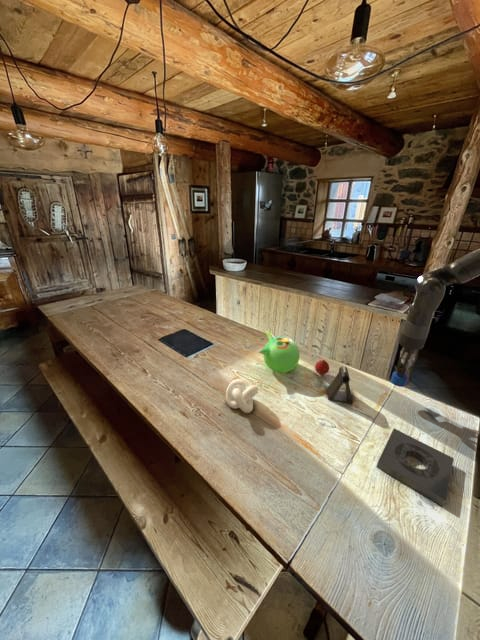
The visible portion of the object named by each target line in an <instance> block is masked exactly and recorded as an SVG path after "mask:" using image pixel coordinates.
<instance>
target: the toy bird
mask: <svg viewBox="0 0 480 640" xmlns="http://www.w3.org/2000/svg"><path fill="white" fill-rule="evenodd" d="M265 334H266V337H267V343H266V344H265V346H264V347H263V348H260V349H259V350H258V353H259V354H262V355H263V360H264V363H265V365H266V366H267V367H268V368H269V369H270V370H271V371H274V372H276V373H288V372H290V371H292V370H293V369H295V368H296V366H297V365H298V364H299V361H300V357H301V355H300V354H301V353H300V349H299V346H298V345H297V343H296V342H295V341H294V340H292V339H291V338H289V337H287V336H277V337H275V336H274V335H273V334H272V333H271V332H270V331H269V330H266V332H265Z"/></svg>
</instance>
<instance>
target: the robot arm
mask: <svg viewBox="0 0 480 640" xmlns="http://www.w3.org/2000/svg"><path fill="white" fill-rule="evenodd" d="M479 276H480V247H479V248H477V249H475V250H472V251H470V252H468V253H466V254H464V255H463V256H460V257H459V258H457V259H455V260H453V261H452V262H450V263H448V264H445V265H442V266H439V267H436V268H434V269H431V270H429V271H427V272H425V273H423V274H422V275H420V276H419V277H418V278H417V279H416V280H415V282H414V288H415V291H416V296H415V299H414V302H413V303H412V304H411V305H410V306H409V309H408V312H407V315H406V318H405V321H404V322H403V324H402V328H401V332H400V334H399V338H398V344H399V345H400V346H401V347H402V348H401V350H400V352H399V358H398V362H397V366H396V367H397V370H396V371H397V374H396V375H397V376H400V377H403V376H404V374H406V371H407V369H408V366H409V365H410V364H411V361H413V358H414V356H415V354H416V352H417V351H420V350H422V349H424V347H425V344H426V341H427V338H428V335H429V333H430V329H431V324H432V321H433V318H434V316H435V313H436V310H437V309H438V307H439V306H440V304H441V302H442V300H443V299H444V296H445V293H446V287H448V286H451V285H453V284H464V283H467V282H469V281H471V280H473V279H475V278H477V277H479Z"/></svg>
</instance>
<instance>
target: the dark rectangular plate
mask: <svg viewBox="0 0 480 640" xmlns="http://www.w3.org/2000/svg"><path fill="white" fill-rule="evenodd" d="M406 457H411V458H414V459H415V460H418V462H420V463H421V464H422V465H423V467H424V468H419V467H415V466H414V465H413V464H411V463H410V462H409V461H408V459H407V458H406ZM453 465H454V457H452V456H450V455H448V454H446V453H444V452H442V451H440V450H438V449H436V448H435V447H432V446H430V445H428V444H427V443H424V442H422V441H420V440H418V439H416V438H415V437H412V436H410V435H408V434H407V433H404V432H402V431H400V430H398V429H396V428H393V429H392V431H391V434H390V435H389V438H388V440H387V442H386V444H385V445H384V448H383V450H382V452H381V454H380V456H379V459H378V460H377V463H376V466H375V467H376V468H377V469H379V470H381V471H383V472H385V473H386V474H388V475H389V476H391V477H392V478H394V479H396V480H398V481H399V482H400V483H403V484H404V485H406V486H408V487H409V488H411V489H413V490H414V491H416V492H417V493H419V494H421V495H423V496H424V497H426V498H428V499H429V500H430V501H433V502H434V503H436V504H437V505H439V506H441V507H443V506H444V505H445V503H446V501H447V495H448V492H449V485H450V480H451V475H452V470H453Z"/></svg>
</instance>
